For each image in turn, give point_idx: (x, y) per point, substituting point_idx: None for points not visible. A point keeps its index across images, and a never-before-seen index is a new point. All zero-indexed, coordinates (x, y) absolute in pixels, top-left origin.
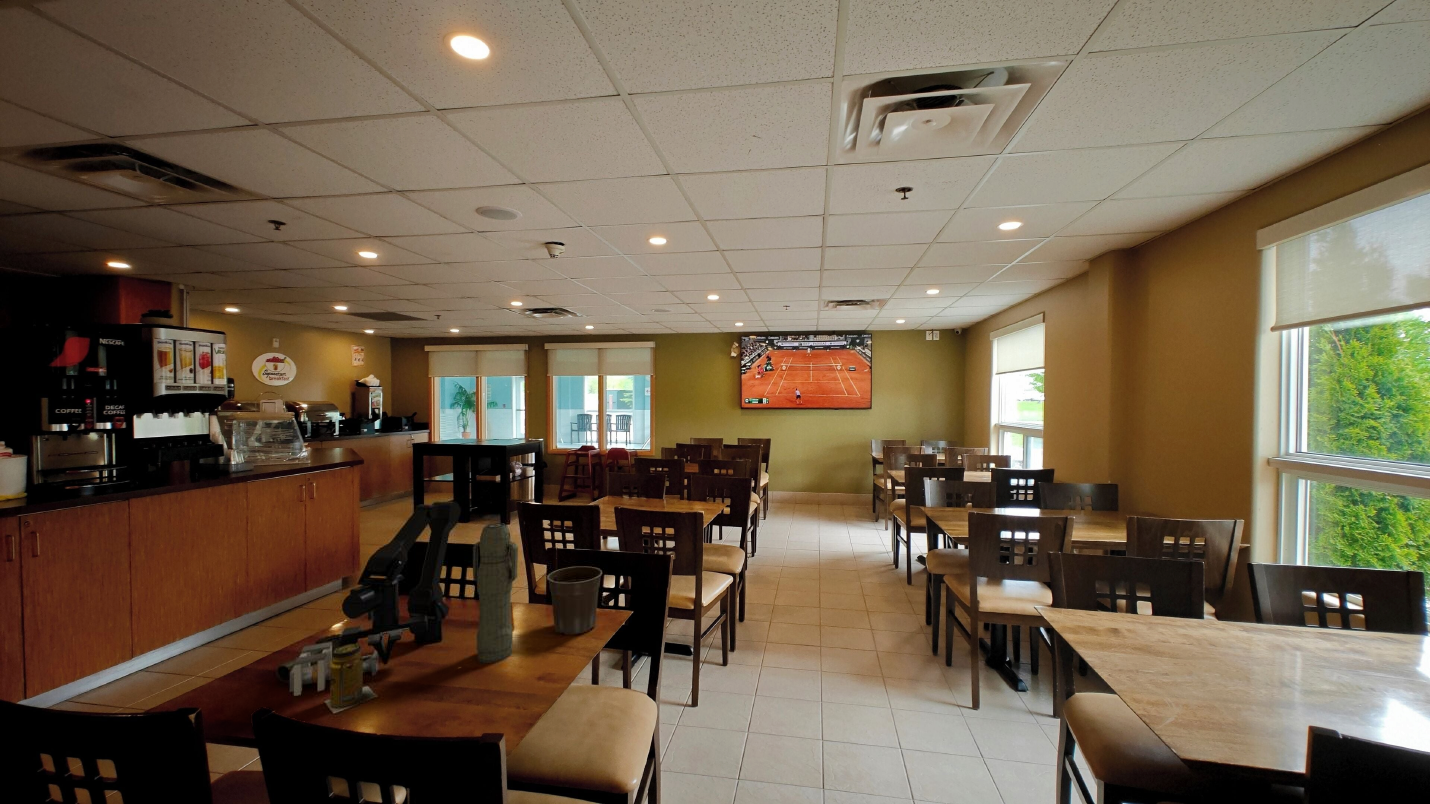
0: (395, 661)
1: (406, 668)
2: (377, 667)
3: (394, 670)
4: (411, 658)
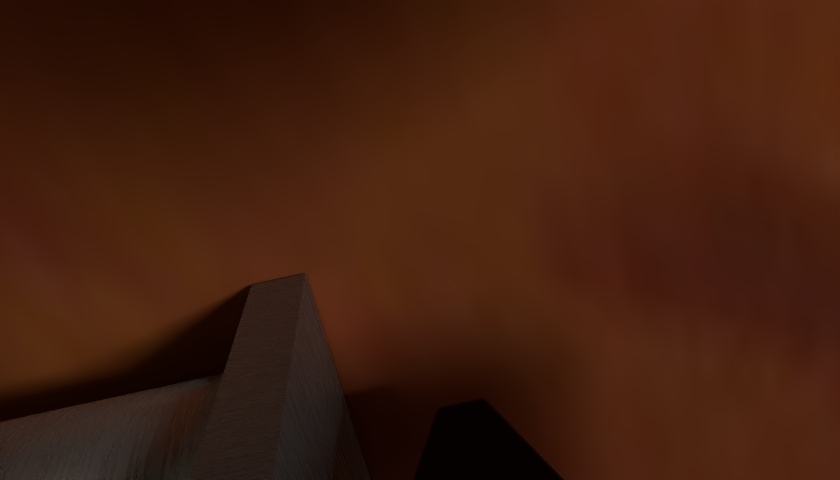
0: (544, 134)
1: (730, 400)
2: (327, 364)
3: (584, 421)
4: (801, 84)
